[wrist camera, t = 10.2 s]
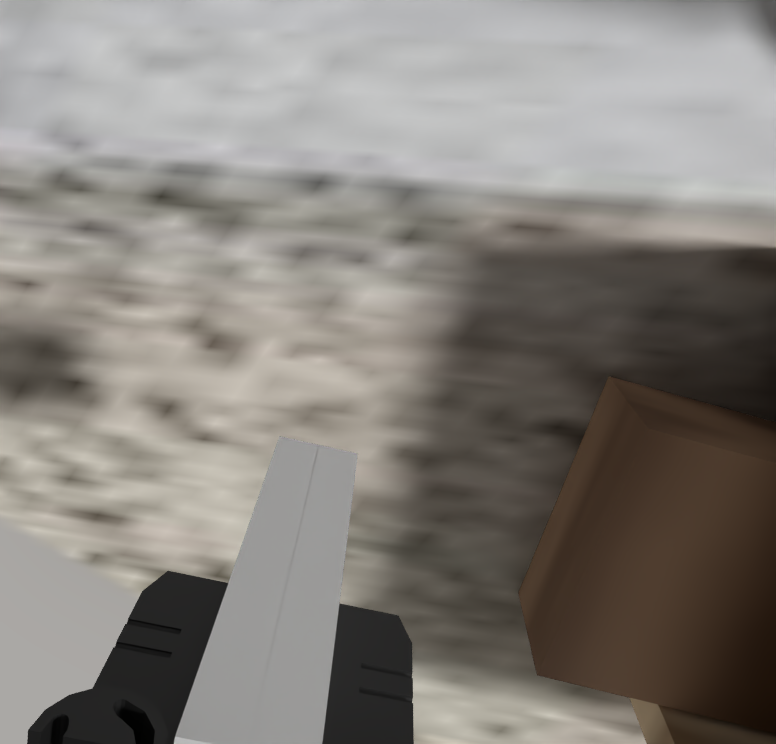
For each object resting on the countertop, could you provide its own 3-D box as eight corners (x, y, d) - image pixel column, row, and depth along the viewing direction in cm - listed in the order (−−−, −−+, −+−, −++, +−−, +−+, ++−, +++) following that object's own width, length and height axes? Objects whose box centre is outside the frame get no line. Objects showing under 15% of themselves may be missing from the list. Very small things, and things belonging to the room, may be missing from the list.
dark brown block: (516, 585, 24) (537, 674, 20) (605, 372, 21) (647, 428, 17) (844, 668, 25) (922, 768, 21) (970, 473, 22) (1086, 547, 18)
